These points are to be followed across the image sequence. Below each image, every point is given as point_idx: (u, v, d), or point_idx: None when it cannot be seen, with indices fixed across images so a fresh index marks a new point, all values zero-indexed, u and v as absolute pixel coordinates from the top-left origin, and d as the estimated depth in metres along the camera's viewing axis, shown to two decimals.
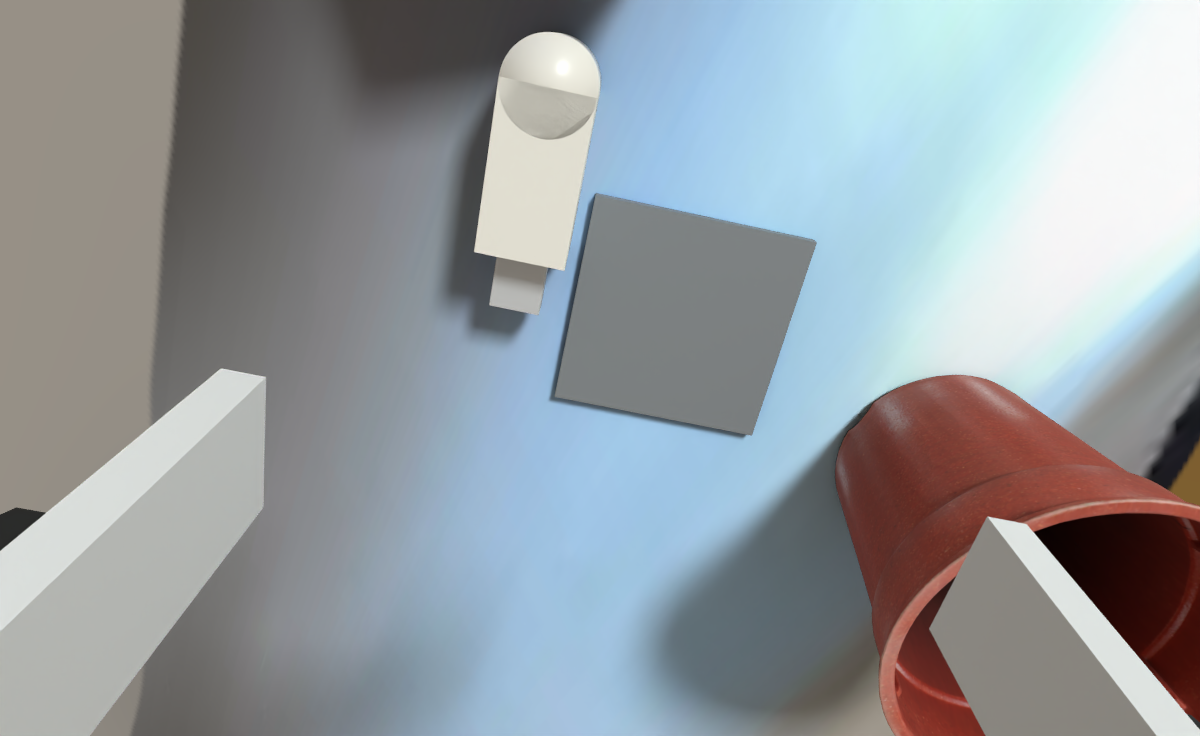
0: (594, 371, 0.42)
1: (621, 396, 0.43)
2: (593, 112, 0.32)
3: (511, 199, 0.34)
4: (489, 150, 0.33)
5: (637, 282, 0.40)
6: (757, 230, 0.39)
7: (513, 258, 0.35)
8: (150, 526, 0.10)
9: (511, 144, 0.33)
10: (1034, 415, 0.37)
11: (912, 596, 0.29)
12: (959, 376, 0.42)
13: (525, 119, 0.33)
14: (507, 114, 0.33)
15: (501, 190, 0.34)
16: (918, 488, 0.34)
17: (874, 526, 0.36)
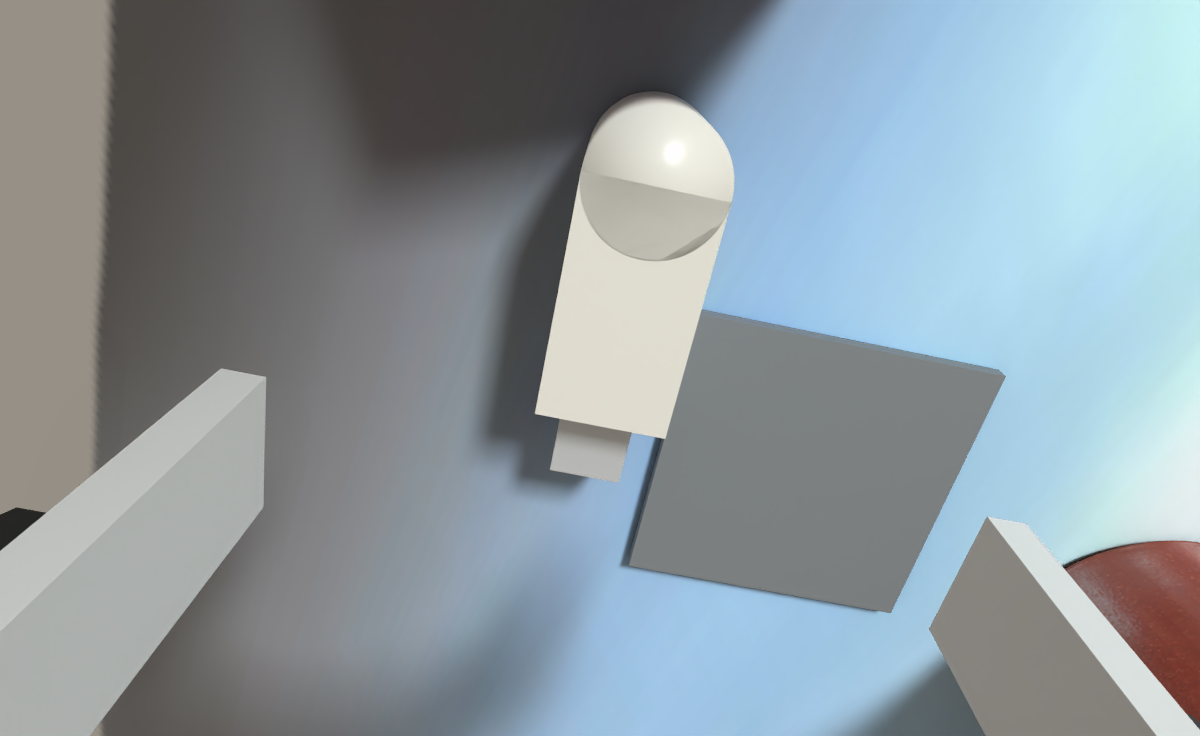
0: (685, 535, 0.31)
1: (719, 566, 0.32)
2: (723, 222, 0.21)
3: (592, 343, 0.23)
4: (562, 276, 0.22)
5: (750, 426, 0.29)
6: (923, 360, 0.28)
7: (591, 422, 0.24)
8: (150, 526, 0.10)
9: (595, 268, 0.22)
10: None
11: None
12: (1182, 544, 0.31)
13: (619, 233, 0.21)
14: (591, 225, 0.21)
15: (578, 332, 0.23)
16: None
17: None
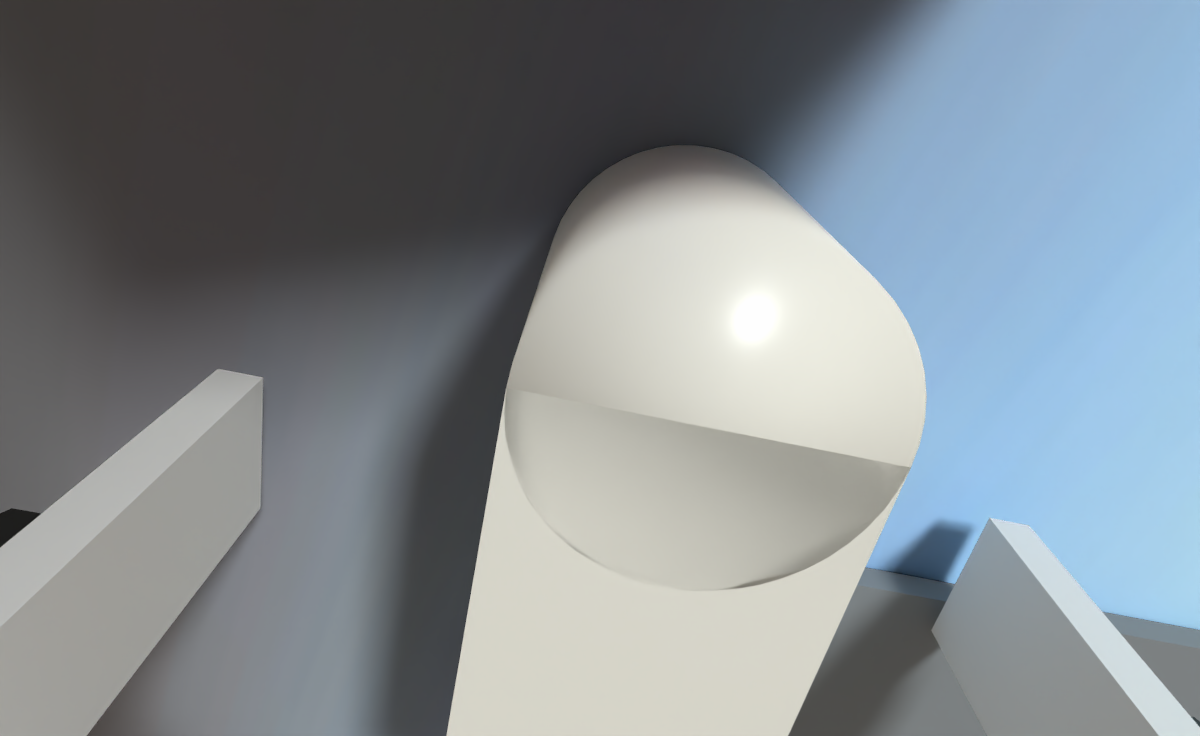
0: None
1: None
2: (883, 512, 0.08)
3: None
4: (470, 617, 0.09)
5: None
6: (1193, 647, 0.15)
7: None
8: (146, 528, 0.09)
9: (552, 603, 0.09)
10: None
11: None
12: None
13: (611, 530, 0.08)
14: (539, 509, 0.08)
15: (514, 721, 0.10)
16: None
17: None
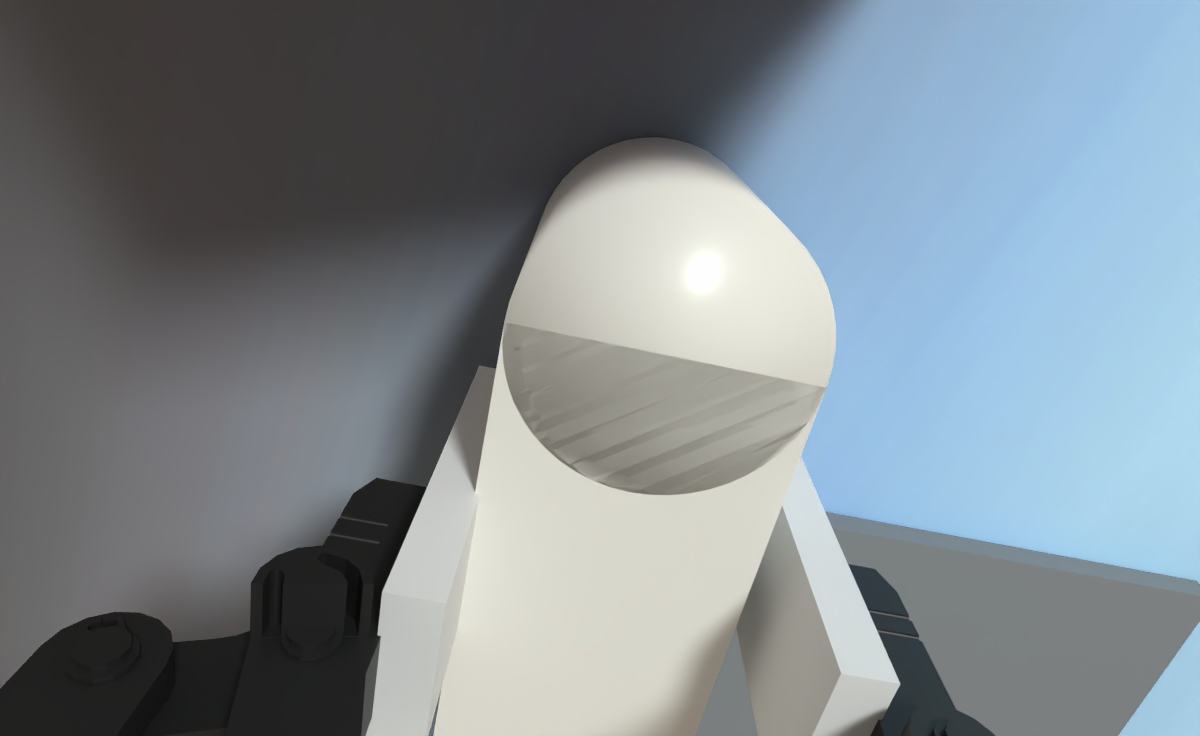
0: None
1: None
2: (807, 426, 0.10)
3: (536, 633, 0.12)
4: None
5: None
6: (1083, 574, 0.17)
7: None
8: None
9: (541, 506, 0.11)
10: None
11: None
12: None
13: (588, 442, 0.10)
14: (530, 425, 0.10)
15: (509, 614, 0.12)
16: None
17: None
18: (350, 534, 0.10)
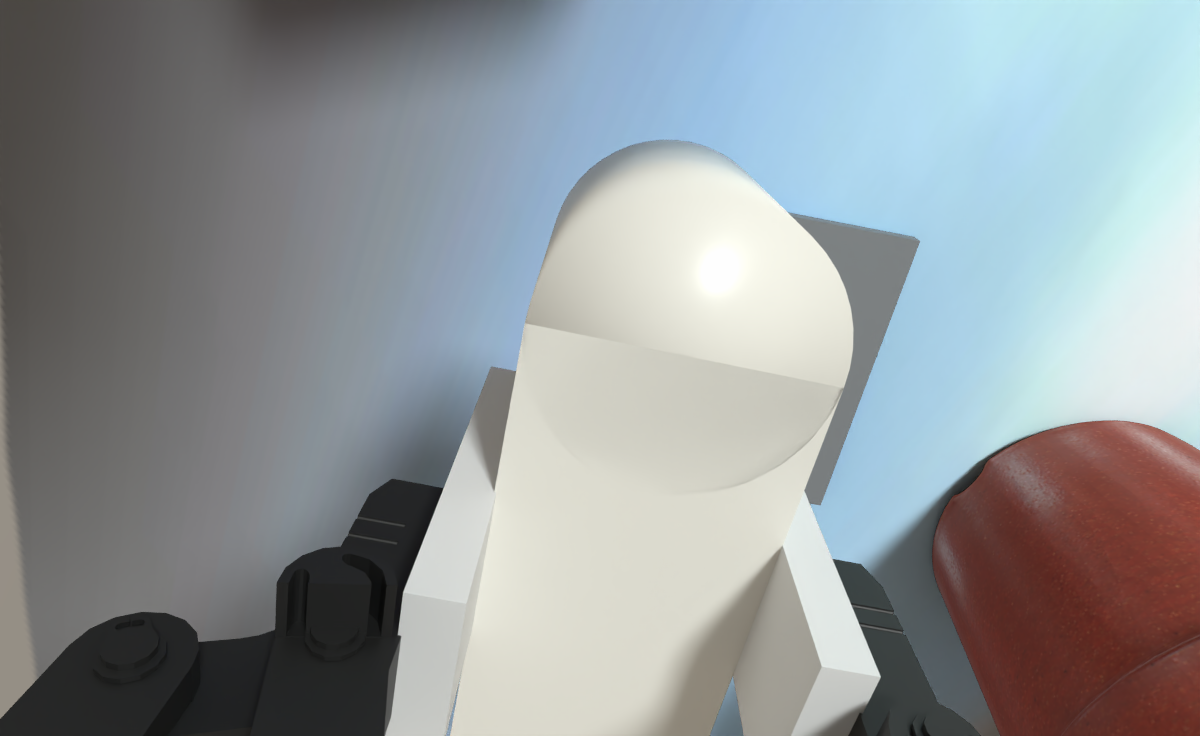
0: None
1: None
2: (824, 426, 0.10)
3: (553, 631, 0.12)
4: (492, 519, 0.11)
5: None
6: (834, 225, 0.27)
7: None
8: None
9: (560, 505, 0.11)
10: None
11: None
12: (1113, 423, 0.30)
13: (607, 442, 0.10)
14: (549, 426, 0.10)
15: (526, 613, 0.12)
16: (1100, 614, 0.23)
17: (1023, 660, 0.25)
18: (368, 534, 0.10)
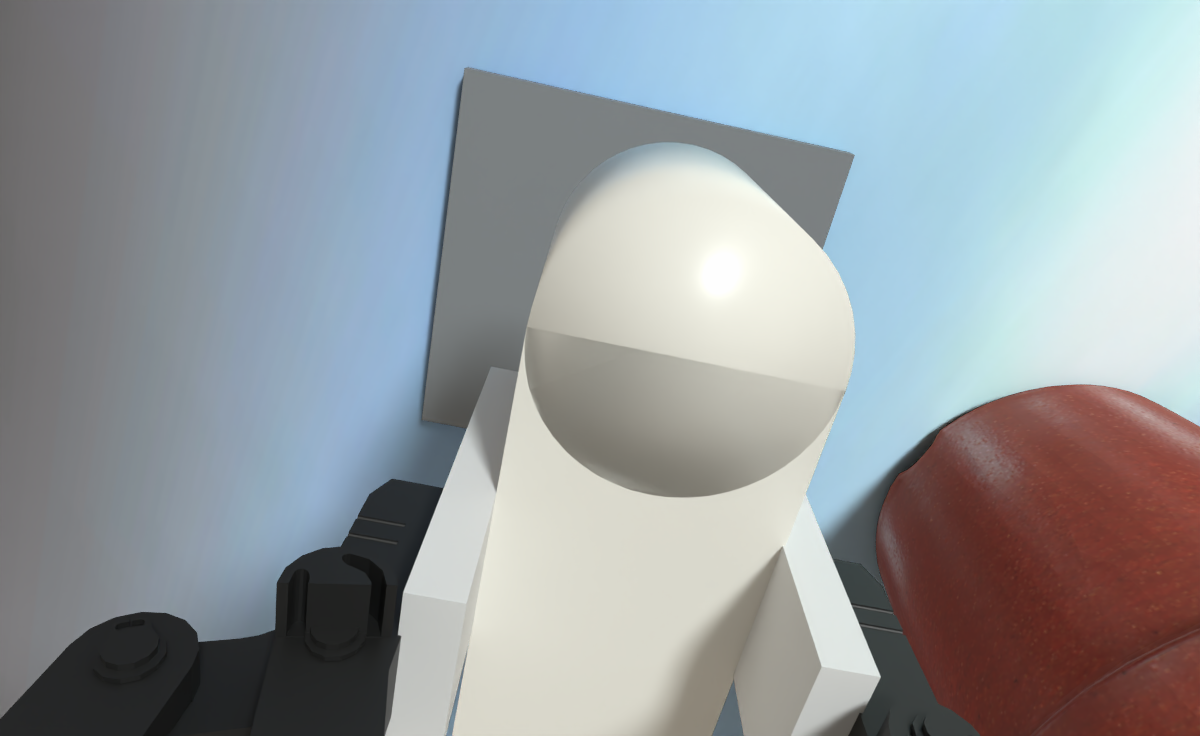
0: (484, 378, 0.26)
1: None
2: (825, 429, 0.10)
3: (555, 635, 0.12)
4: (494, 522, 0.11)
5: (546, 227, 0.23)
6: (751, 133, 0.22)
7: None
8: None
9: (560, 508, 0.11)
10: None
11: None
12: (1087, 387, 0.25)
13: (609, 445, 0.10)
14: (550, 429, 0.10)
15: (528, 616, 0.12)
16: (1061, 608, 0.18)
17: (966, 667, 0.20)
18: (368, 534, 0.10)
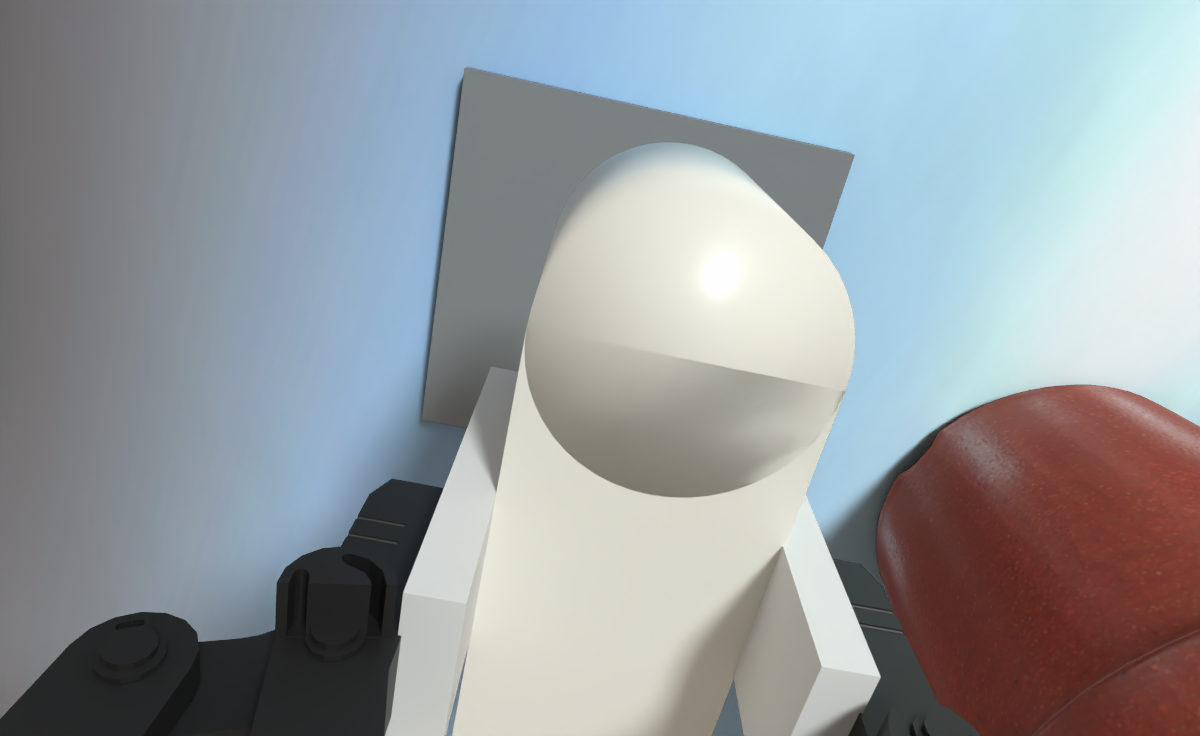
0: (484, 378, 0.26)
1: None
2: (825, 429, 0.10)
3: (555, 634, 0.12)
4: (494, 522, 0.11)
5: (546, 227, 0.23)
6: (751, 133, 0.22)
7: None
8: None
9: (561, 509, 0.11)
10: None
11: None
12: (1087, 387, 0.25)
13: (609, 445, 0.10)
14: (550, 429, 0.10)
15: (528, 616, 0.12)
16: (1061, 609, 0.18)
17: (967, 667, 0.20)
18: (368, 534, 0.10)
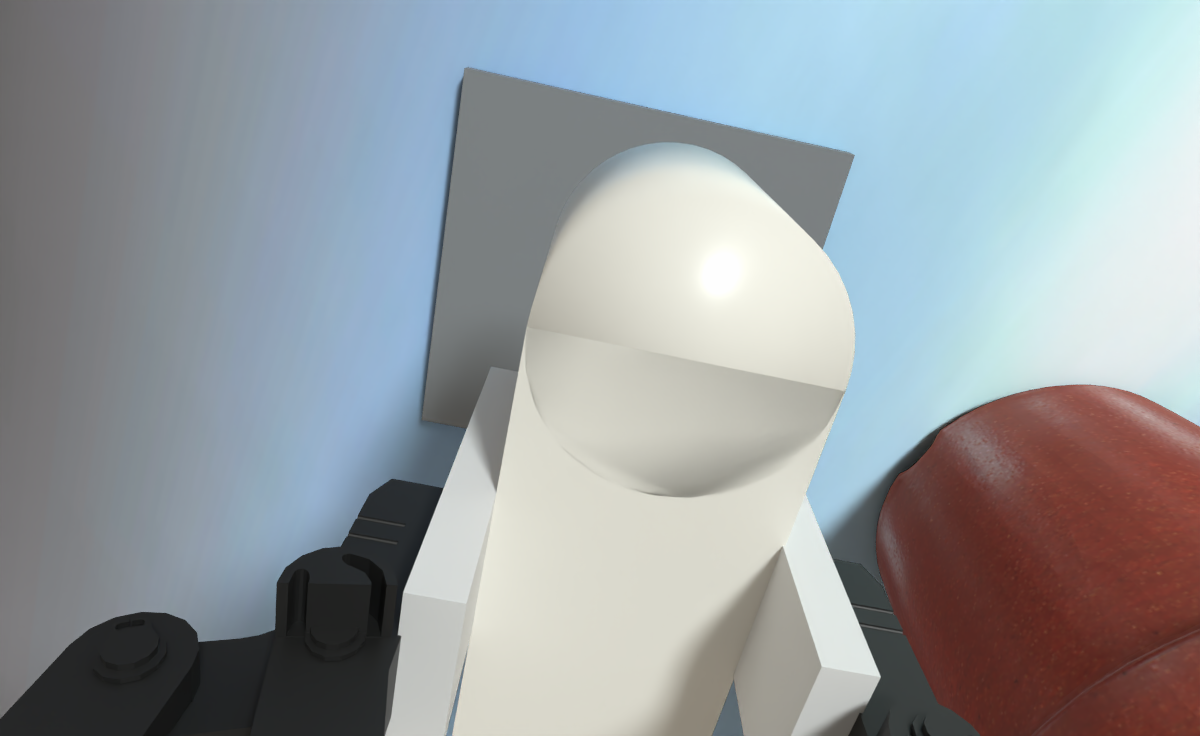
0: (484, 378, 0.26)
1: None
2: (825, 429, 0.10)
3: (555, 634, 0.12)
4: (494, 522, 0.11)
5: (546, 227, 0.23)
6: (751, 133, 0.22)
7: None
8: None
9: (561, 509, 0.11)
10: None
11: None
12: (1087, 387, 0.25)
13: (609, 445, 0.10)
14: (550, 429, 0.10)
15: (528, 616, 0.12)
16: (1061, 609, 0.18)
17: (967, 667, 0.20)
18: (368, 534, 0.10)
